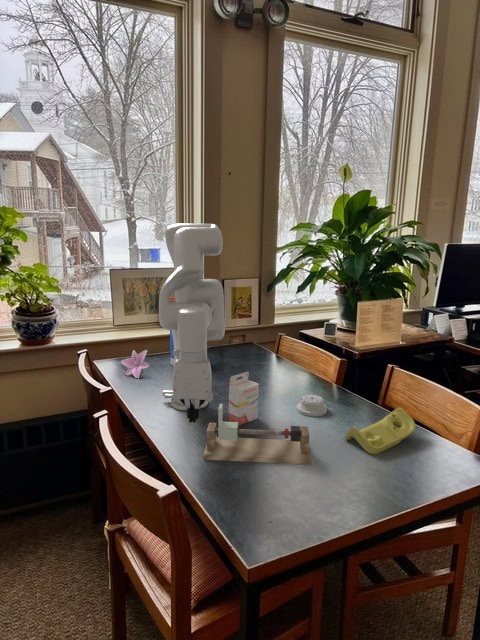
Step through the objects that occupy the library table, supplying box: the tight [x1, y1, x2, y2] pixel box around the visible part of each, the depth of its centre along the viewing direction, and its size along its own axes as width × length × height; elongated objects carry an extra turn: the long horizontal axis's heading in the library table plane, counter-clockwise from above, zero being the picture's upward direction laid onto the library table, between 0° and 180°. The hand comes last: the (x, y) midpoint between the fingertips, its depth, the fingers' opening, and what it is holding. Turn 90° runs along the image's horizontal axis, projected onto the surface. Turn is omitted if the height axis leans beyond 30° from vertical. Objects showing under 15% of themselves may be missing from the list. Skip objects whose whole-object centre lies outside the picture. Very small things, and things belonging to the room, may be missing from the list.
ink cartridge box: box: [228, 371, 260, 427], centre depth 145 cm, size 9×5×15 cm, turn 135°
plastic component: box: [344, 407, 416, 455], centre depth 135 cm, size 20×7×10 cm
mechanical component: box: [296, 394, 328, 417], centre depth 154 cm, size 10×4×10 cm
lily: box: [120, 349, 150, 380], centre depth 185 cm, size 12×12×10 cm
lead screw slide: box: [203, 422, 312, 465], centre depth 126 cm, size 28×10×8 cm, turn 86°
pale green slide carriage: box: [217, 403, 239, 441], centre depth 125 cm, size 5×4×9 cm
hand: (193, 420), depth 126 cm, fingers closed
